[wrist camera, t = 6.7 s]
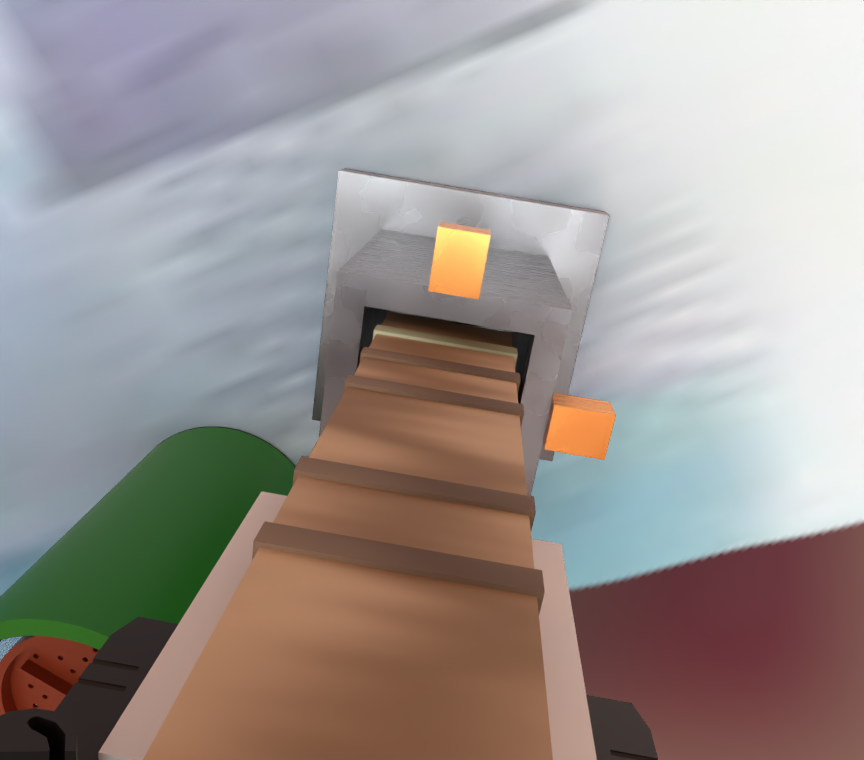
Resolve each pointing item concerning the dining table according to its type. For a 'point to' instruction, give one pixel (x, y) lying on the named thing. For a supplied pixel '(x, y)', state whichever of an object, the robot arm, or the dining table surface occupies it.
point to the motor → (132, 557)
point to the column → (388, 578)
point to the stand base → (468, 292)
